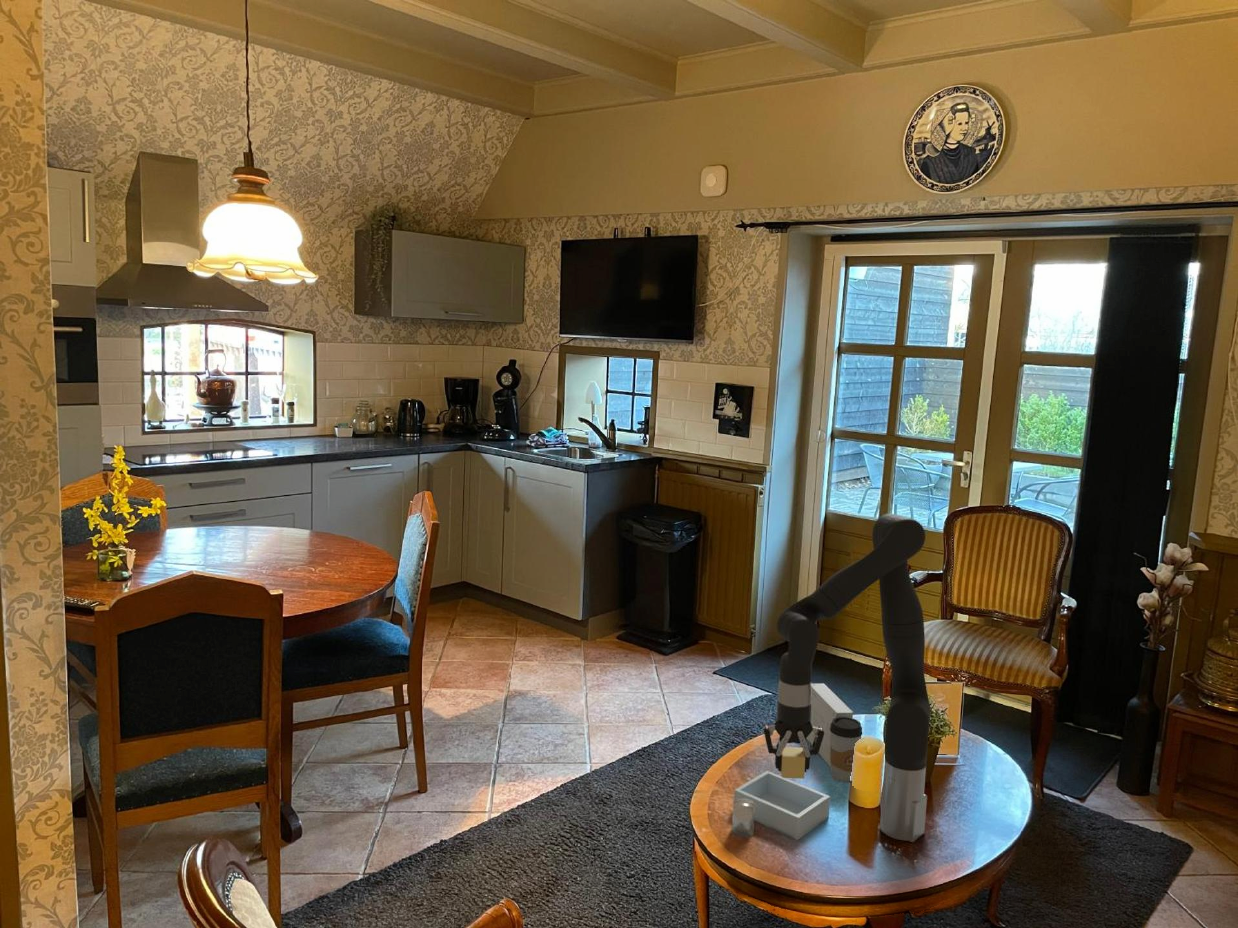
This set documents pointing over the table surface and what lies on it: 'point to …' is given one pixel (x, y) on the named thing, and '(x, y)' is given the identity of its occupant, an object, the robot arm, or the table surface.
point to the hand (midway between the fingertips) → (791, 769)
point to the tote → (785, 804)
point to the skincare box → (825, 715)
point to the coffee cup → (843, 746)
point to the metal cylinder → (743, 817)
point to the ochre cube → (793, 763)
